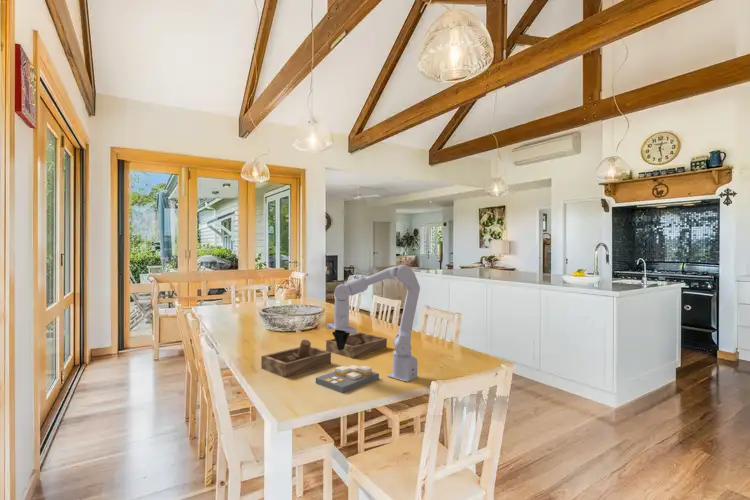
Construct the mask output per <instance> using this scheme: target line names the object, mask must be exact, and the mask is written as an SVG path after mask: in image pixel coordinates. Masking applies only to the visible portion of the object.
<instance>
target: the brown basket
mask: <svg viewBox="0 0 750 500" xmlns="http://www.w3.org/2000/svg"><path fill="white" fill-rule="evenodd" d="M379 337H380V336H379ZM379 337H351V338H350V339H349V340H348V341H347V345H350V346H356V345H360V344H361V343H360V342H361V341H363V340H360V339H359V338H379ZM364 342H365V341H364Z"/></svg>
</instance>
